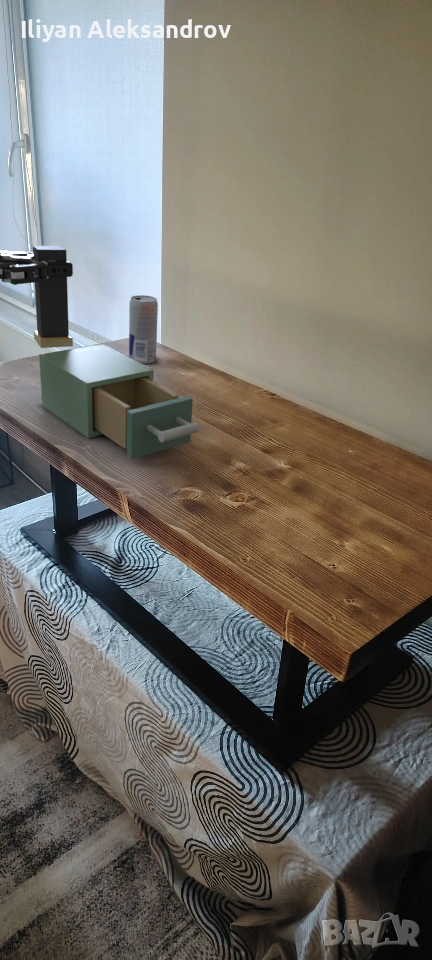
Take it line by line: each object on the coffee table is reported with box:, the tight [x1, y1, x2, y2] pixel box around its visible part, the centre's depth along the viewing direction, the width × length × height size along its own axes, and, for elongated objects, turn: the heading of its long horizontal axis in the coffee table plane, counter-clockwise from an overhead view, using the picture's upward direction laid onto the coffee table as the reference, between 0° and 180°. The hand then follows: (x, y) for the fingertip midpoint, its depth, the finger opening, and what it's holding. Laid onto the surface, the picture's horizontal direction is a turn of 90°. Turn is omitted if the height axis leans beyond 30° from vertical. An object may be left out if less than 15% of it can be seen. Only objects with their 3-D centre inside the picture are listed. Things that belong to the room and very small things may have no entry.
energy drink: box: [128, 294, 159, 365], centre depth 121 cm, size 5×5×12 cm
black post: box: [32, 245, 74, 349], centre depth 100 cm, size 5×5×15 cm
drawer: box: [92, 377, 200, 460], centre depth 90 cm, size 17×10×7 cm, turn 41°
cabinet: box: [38, 343, 155, 439], centre depth 98 cm, size 14×12×9 cm
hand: (68, 266), depth 99 cm, fingers closed on black post, 3 cm apart
